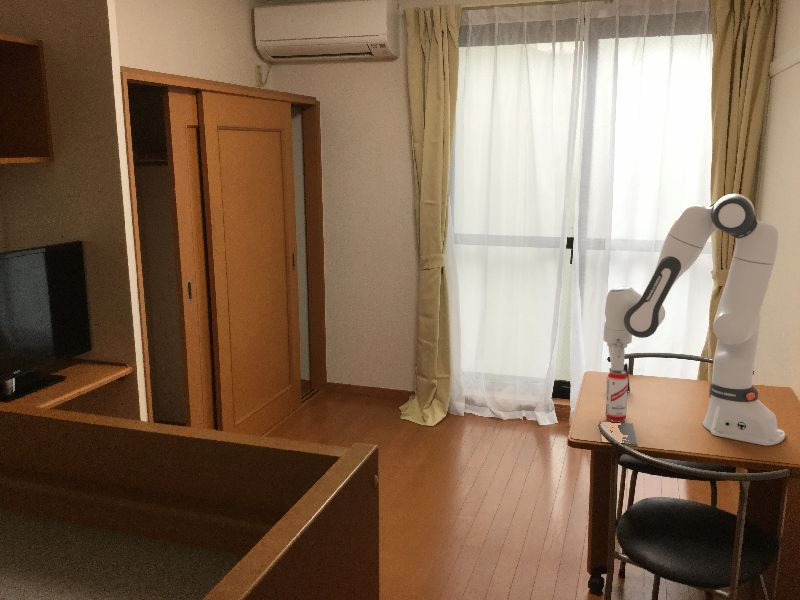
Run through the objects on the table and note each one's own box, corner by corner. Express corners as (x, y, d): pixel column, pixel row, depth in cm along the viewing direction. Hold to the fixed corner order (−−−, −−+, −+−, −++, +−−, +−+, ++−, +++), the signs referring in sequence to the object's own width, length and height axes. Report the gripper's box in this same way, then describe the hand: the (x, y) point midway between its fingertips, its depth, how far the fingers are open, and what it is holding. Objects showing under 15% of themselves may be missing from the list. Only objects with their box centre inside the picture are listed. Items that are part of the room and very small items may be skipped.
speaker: (635, 391, 247) (633, 363, 246) (624, 395, 244) (622, 367, 243) (618, 388, 253) (617, 360, 252) (607, 391, 251) (605, 364, 249)
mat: (599, 421, 219) (599, 420, 219) (632, 424, 217) (632, 423, 217) (601, 442, 203) (601, 441, 203) (637, 445, 201) (637, 444, 201)
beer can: (603, 415, 225) (605, 368, 222) (622, 415, 224) (625, 368, 221) (608, 422, 219) (610, 374, 215) (628, 422, 218) (630, 374, 215)
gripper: (630, 344, 214) (627, 387, 216) (625, 329, 233) (623, 368, 236) (609, 343, 215) (606, 385, 218) (606, 328, 235) (604, 367, 237)
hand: (615, 376), depth 227 cm, fingers closed
